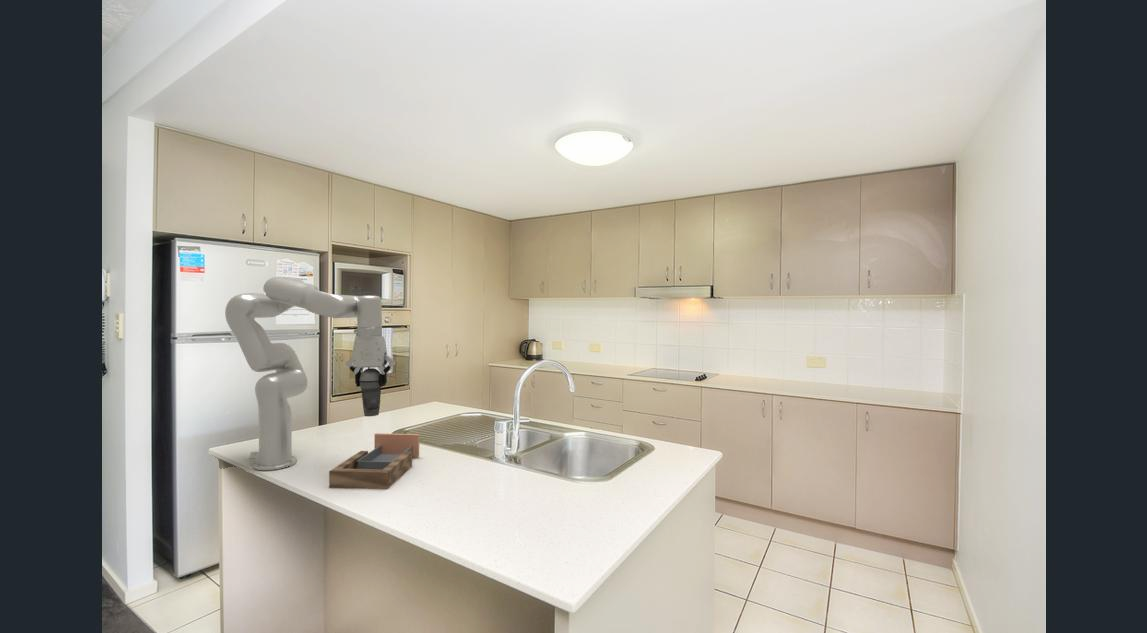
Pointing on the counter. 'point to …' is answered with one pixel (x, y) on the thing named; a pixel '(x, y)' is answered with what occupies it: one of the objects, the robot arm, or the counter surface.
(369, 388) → the beverage cup
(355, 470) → the housing
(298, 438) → the counter surface
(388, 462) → the tray
